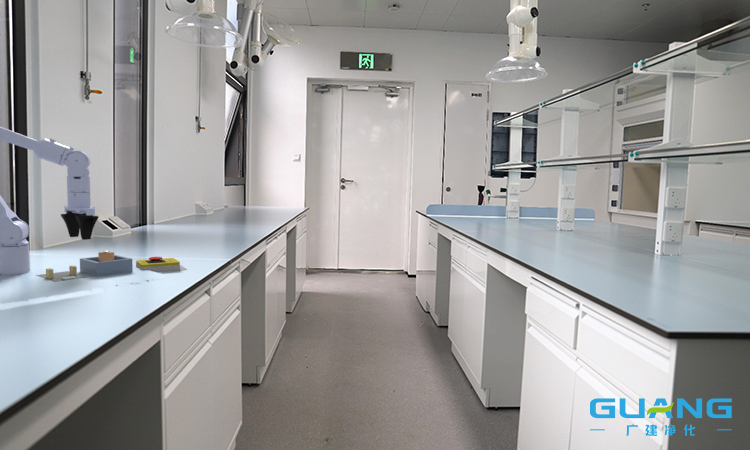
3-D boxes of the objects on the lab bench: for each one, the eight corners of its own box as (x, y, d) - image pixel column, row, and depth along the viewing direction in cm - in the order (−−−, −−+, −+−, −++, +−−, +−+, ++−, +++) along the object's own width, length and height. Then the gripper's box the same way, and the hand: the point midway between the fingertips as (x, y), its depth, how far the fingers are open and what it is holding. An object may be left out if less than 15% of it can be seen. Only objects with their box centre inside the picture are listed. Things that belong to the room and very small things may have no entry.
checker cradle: (35, 279, 130) (35, 266, 130) (67, 275, 137) (67, 262, 136) (55, 286, 123) (54, 272, 123) (87, 281, 130) (87, 268, 130)
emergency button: (130, 256, 148) (180, 253, 157) (130, 270, 148) (180, 266, 157) (135, 261, 141) (187, 257, 150) (135, 276, 141) (187, 271, 150)
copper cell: (96, 272, 137) (95, 250, 137) (110, 270, 141) (110, 249, 140) (102, 274, 135) (102, 252, 134) (116, 272, 138) (116, 251, 138)
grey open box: (80, 275, 137) (79, 258, 136) (115, 270, 145) (114, 254, 144) (97, 280, 131) (96, 263, 131) (132, 275, 139) (132, 258, 139)
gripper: (105, 193, 137) (106, 239, 139) (81, 191, 146) (83, 234, 147) (79, 193, 132) (80, 241, 133) (56, 191, 140) (57, 236, 141)
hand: (80, 238), depth 140 cm, fingers open, 7 cm apart
